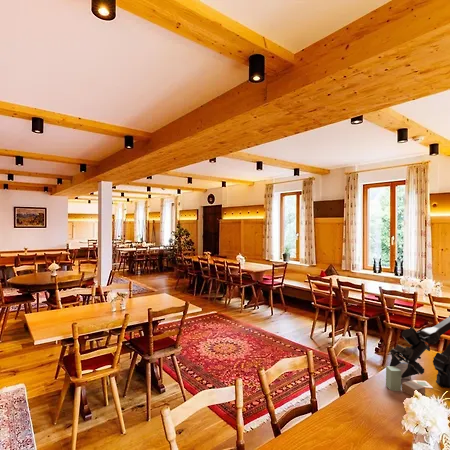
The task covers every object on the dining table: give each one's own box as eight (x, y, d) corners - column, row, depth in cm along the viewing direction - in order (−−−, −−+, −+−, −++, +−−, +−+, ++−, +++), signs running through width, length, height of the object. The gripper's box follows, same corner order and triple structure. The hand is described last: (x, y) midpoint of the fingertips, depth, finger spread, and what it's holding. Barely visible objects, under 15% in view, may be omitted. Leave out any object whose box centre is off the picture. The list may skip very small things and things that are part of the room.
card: (425, 381, 166) (425, 380, 166) (433, 388, 159) (433, 387, 159) (411, 380, 167) (411, 379, 167) (418, 387, 160) (418, 386, 160)
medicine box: (407, 375, 172) (407, 359, 172) (411, 379, 168) (411, 363, 168) (392, 374, 173) (392, 359, 173) (396, 378, 169) (396, 362, 169)
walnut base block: (411, 388, 159) (411, 380, 159) (424, 395, 153) (424, 387, 153) (401, 390, 157) (401, 382, 157) (415, 398, 150) (415, 389, 150)
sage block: (395, 385, 161) (395, 366, 161) (400, 390, 156) (401, 370, 156) (385, 385, 161) (386, 366, 161) (390, 390, 156) (391, 370, 156)
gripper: (393, 333, 168) (374, 354, 167) (419, 347, 150) (398, 371, 148) (406, 347, 170) (387, 368, 168) (433, 362, 151) (412, 386, 150)
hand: (395, 372), depth 158 cm, fingers open, 9 cm apart
